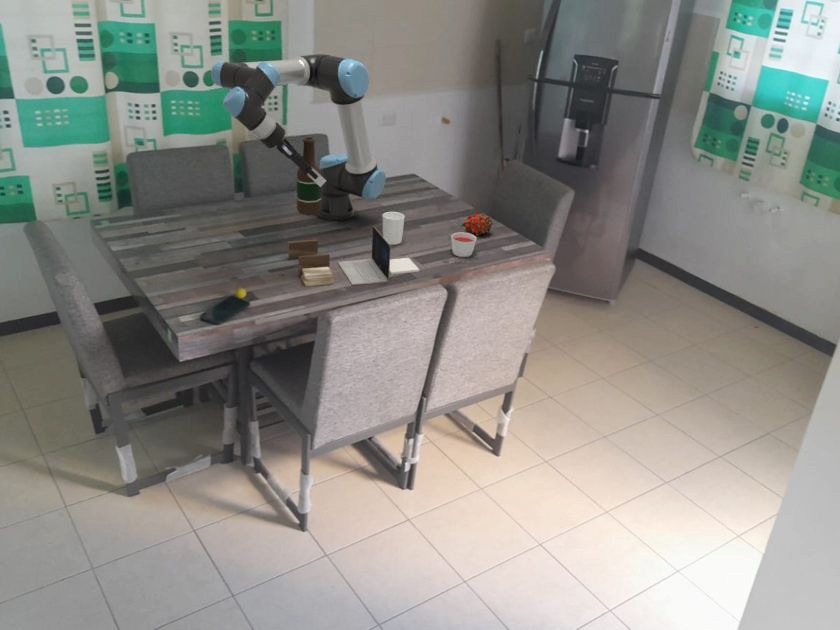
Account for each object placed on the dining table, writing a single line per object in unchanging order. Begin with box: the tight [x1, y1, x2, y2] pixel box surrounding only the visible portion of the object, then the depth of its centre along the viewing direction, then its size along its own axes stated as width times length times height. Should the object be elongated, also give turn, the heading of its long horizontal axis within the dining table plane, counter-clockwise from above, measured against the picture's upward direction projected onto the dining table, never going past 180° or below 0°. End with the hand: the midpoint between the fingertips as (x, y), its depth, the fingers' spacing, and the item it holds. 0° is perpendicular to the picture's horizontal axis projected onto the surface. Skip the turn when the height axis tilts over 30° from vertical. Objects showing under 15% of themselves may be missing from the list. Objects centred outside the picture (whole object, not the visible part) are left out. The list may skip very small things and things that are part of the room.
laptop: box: [337, 225, 392, 286], centre depth 260 cm, size 18×12×13 cm
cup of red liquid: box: [450, 231, 477, 258], centre depth 281 cm, size 9×9×6 cm
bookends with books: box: [287, 239, 335, 287], centre depth 260 cm, size 23×10×7 cm, turn 22°
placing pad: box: [389, 257, 420, 275], centre depth 268 cm, size 10×10×1 cm
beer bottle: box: [296, 136, 321, 216], centre depth 249 cm, size 8×8×24 cm
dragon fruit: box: [461, 213, 493, 237], centre depth 299 cm, size 8×8×12 cm
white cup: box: [382, 211, 405, 246], centre depth 286 cm, size 8×8×10 cm
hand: (319, 179), depth 251 cm, fingers closed on beer bottle, 7 cm apart
